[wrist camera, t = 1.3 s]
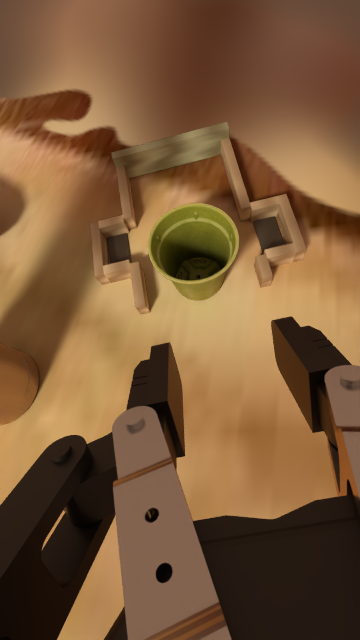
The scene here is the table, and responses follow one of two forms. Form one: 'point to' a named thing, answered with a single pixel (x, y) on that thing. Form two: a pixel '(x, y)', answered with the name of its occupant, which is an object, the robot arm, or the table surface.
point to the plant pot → (194, 248)
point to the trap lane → (258, 212)
